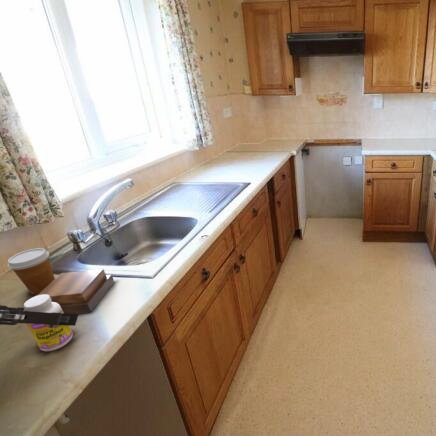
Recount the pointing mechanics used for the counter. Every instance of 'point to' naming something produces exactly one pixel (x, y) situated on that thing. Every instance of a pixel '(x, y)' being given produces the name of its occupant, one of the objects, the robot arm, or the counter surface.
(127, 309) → the counter surface
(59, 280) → the board stack
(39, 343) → the supplement bottle
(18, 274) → the disposable coffee cup
